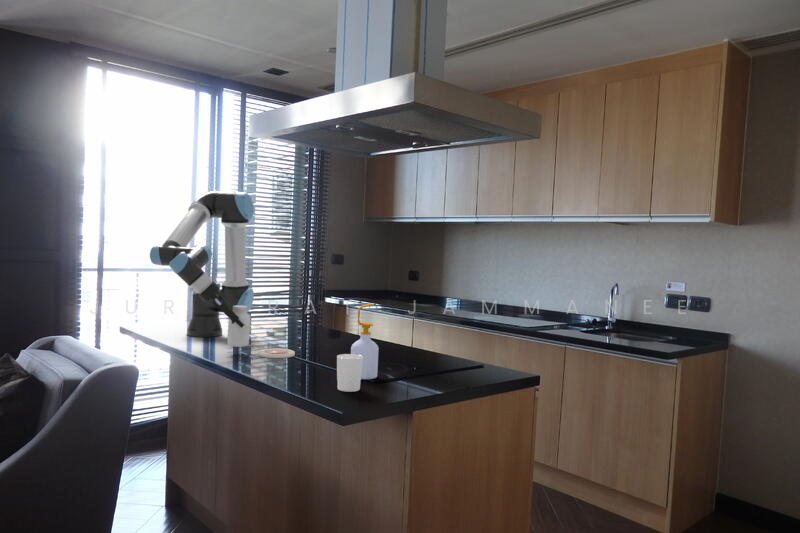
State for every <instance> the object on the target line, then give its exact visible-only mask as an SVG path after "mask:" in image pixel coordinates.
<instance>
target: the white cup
mask: <svg viewBox="0 0 800 533" xmlns="http://www.w3.org/2000/svg"><path fill="white" fill-rule="evenodd" d="M362 365H363V356H361V355H355V354H351V353H342V354H338V355H336V381H337V390H339V391H341V392H346V393H347V392H348V393H349V392H350V393H351V392H358V391H360V389H361V380H362V379H361V375H362Z"/></svg>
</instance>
